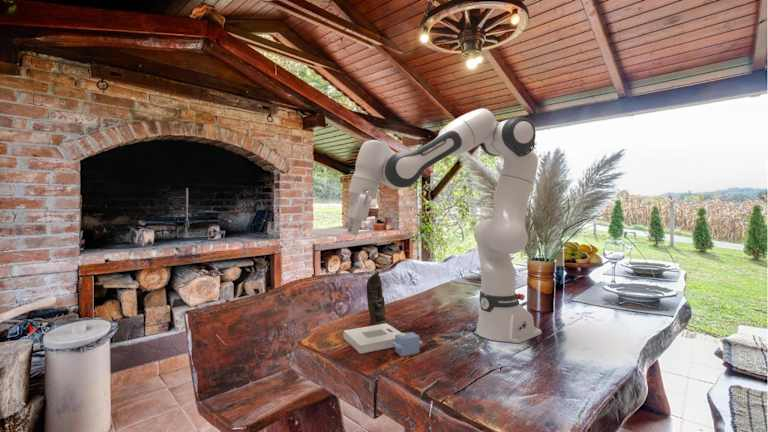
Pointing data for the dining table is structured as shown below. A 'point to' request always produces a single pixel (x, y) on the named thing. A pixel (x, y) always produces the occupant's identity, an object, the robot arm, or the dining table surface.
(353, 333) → the frame
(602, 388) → the dining table surface
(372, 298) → the statue
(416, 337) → the servo
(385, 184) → the robot arm
